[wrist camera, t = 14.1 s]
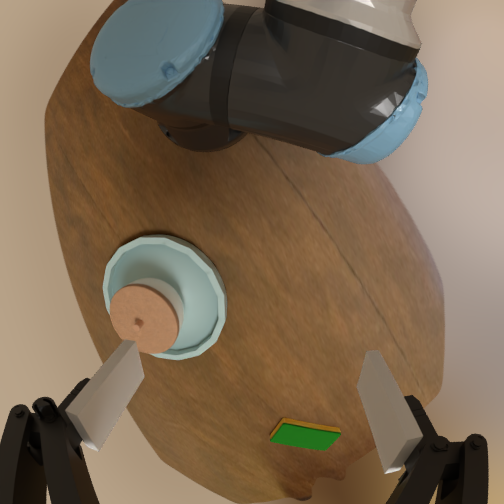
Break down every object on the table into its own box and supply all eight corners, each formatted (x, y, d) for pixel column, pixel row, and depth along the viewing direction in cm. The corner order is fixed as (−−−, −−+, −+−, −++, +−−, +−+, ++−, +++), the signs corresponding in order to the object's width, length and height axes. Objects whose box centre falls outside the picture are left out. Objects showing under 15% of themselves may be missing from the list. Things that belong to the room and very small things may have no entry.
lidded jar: (174, 340, 44) (154, 373, 35) (123, 303, 43) (95, 329, 34) (205, 295, 41) (187, 324, 32) (148, 254, 40) (118, 273, 31)
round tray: (104, 234, 41) (95, 237, 39) (225, 234, 40) (222, 238, 37) (122, 343, 46) (116, 350, 44) (229, 356, 45) (227, 364, 42)
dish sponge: (324, 443, 50) (325, 451, 48) (269, 433, 50) (269, 441, 48) (340, 426, 49) (341, 434, 46) (283, 415, 48) (283, 423, 46)
